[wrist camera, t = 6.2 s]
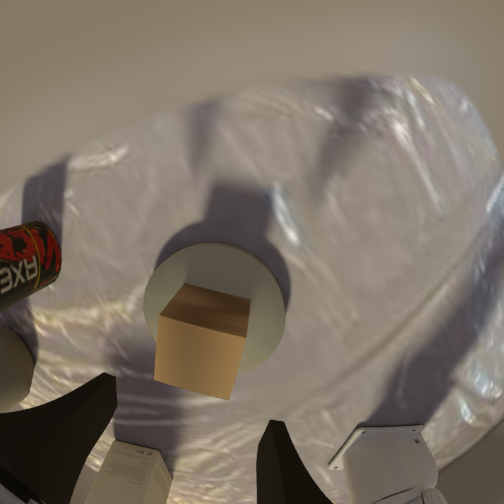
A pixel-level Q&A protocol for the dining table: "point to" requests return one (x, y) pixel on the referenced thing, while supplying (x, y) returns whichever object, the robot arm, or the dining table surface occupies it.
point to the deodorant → (27, 261)
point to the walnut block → (201, 340)
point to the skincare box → (131, 477)
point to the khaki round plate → (226, 281)
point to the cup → (14, 369)
